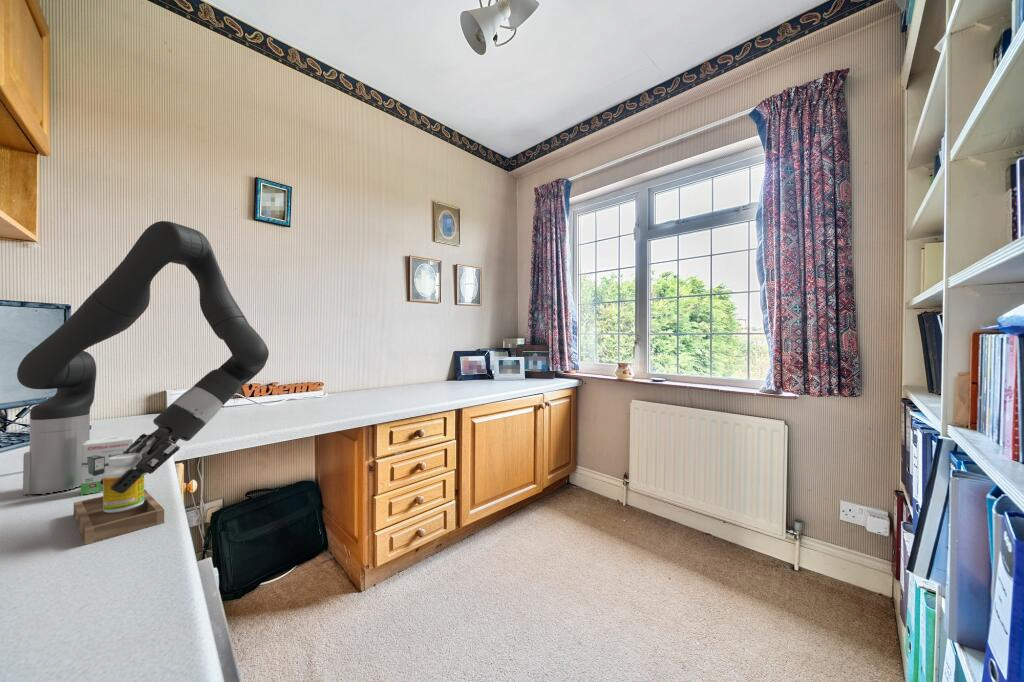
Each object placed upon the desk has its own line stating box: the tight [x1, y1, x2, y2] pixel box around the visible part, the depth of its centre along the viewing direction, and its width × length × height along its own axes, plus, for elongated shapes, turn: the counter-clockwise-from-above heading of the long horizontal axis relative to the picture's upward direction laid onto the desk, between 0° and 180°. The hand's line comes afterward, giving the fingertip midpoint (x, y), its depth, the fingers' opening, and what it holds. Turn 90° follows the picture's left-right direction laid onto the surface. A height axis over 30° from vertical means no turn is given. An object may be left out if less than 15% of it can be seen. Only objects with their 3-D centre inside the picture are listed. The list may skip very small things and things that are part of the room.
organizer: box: [73, 488, 165, 546], centre depth 73 cm, size 20×10×2 cm, turn 53°
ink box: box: [79, 435, 136, 496], centre depth 89 cm, size 9×5×12 cm, turn 133°
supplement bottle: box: [102, 453, 145, 513], centre depth 71 cm, size 5×5×10 cm
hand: (110, 488), depth 69 cm, fingers closed on supplement bottle, 5 cm apart
